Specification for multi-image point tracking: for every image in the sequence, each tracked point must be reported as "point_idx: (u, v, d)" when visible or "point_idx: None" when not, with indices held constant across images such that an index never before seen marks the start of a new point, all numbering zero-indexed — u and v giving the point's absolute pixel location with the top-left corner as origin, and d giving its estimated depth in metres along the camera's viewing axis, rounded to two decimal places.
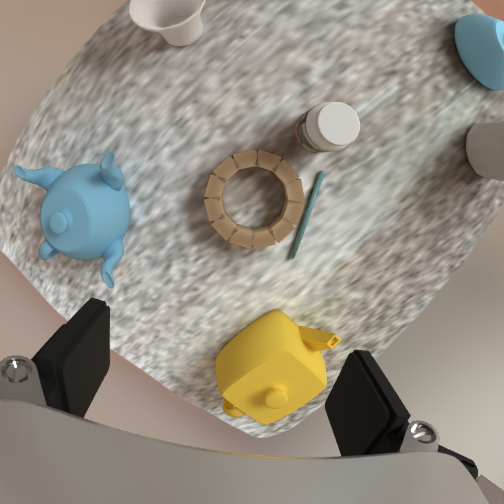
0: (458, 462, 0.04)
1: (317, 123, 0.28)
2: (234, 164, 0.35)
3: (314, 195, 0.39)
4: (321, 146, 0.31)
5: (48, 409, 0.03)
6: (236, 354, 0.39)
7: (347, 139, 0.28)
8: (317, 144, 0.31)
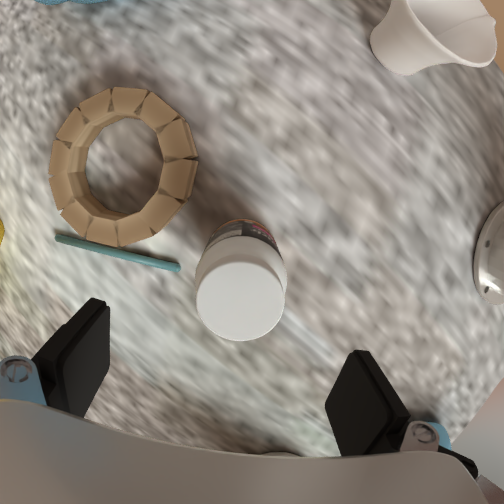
0: (458, 462, 0.04)
1: (230, 260, 0.15)
2: (163, 122, 0.19)
3: (140, 260, 0.24)
4: (198, 269, 0.18)
5: (48, 409, 0.03)
6: None
7: (210, 320, 0.16)
8: (201, 261, 0.18)
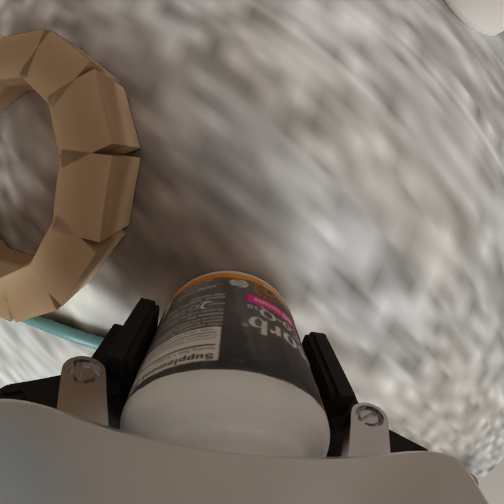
0: (458, 462, 0.04)
1: None
2: (62, 82, 0.07)
3: (60, 334, 0.12)
4: (121, 429, 0.06)
5: (48, 409, 0.03)
6: None
7: None
8: (123, 415, 0.06)
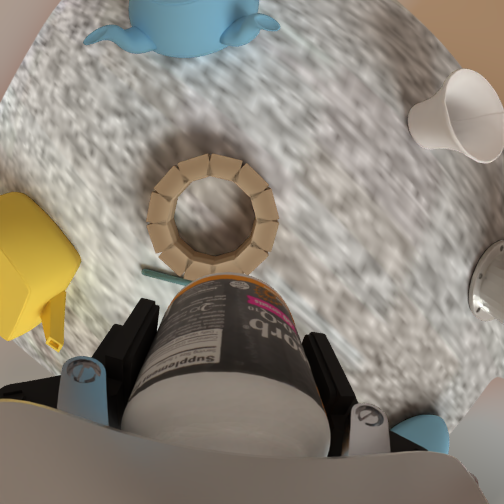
0: (458, 462, 0.04)
1: None
2: (257, 191, 0.27)
3: None
4: None
5: (48, 409, 0.03)
6: (19, 220, 0.24)
7: None
8: (125, 418, 0.06)
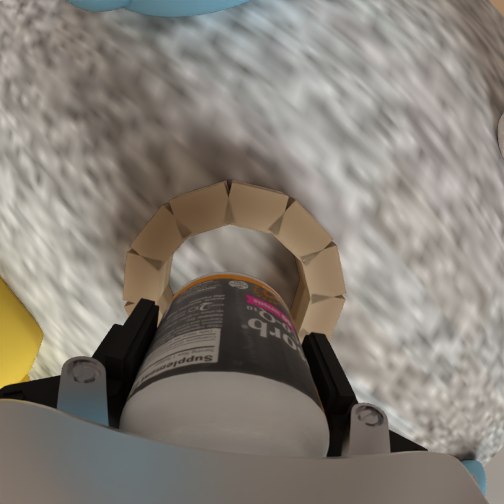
0: (458, 462, 0.04)
1: None
2: (313, 249, 0.15)
3: None
4: None
5: (48, 409, 0.03)
6: None
7: None
8: (123, 417, 0.06)
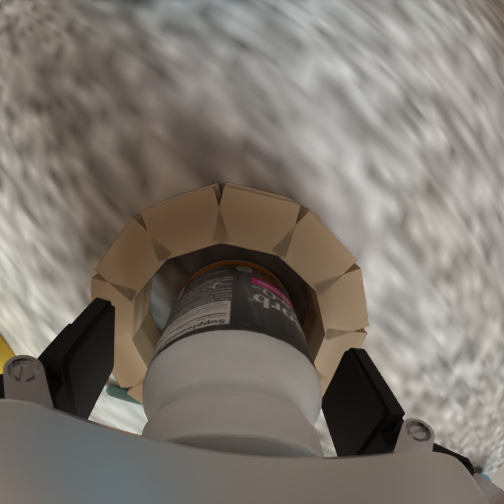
0: (458, 462, 0.04)
1: (202, 427, 0.05)
2: (330, 274, 0.12)
3: None
4: (144, 388, 0.08)
5: (48, 409, 0.03)
6: None
7: None
8: (148, 375, 0.08)
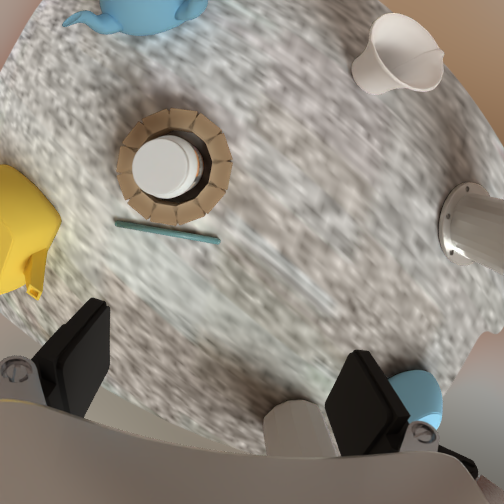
0: (458, 462, 0.04)
1: None
2: (211, 135, 0.28)
3: (189, 237, 0.33)
4: None
5: (48, 409, 0.03)
6: (6, 183, 0.25)
7: (140, 181, 0.23)
8: None
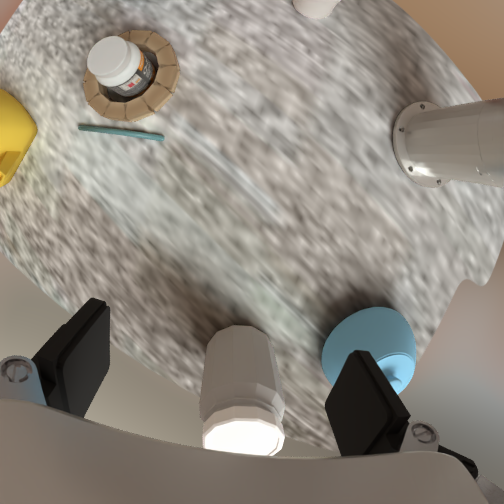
0: (458, 462, 0.04)
1: None
2: (160, 47, 0.28)
3: (137, 134, 0.33)
4: None
5: (48, 409, 0.03)
6: None
7: (91, 66, 0.22)
8: None
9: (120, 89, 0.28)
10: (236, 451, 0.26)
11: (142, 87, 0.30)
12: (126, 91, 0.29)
